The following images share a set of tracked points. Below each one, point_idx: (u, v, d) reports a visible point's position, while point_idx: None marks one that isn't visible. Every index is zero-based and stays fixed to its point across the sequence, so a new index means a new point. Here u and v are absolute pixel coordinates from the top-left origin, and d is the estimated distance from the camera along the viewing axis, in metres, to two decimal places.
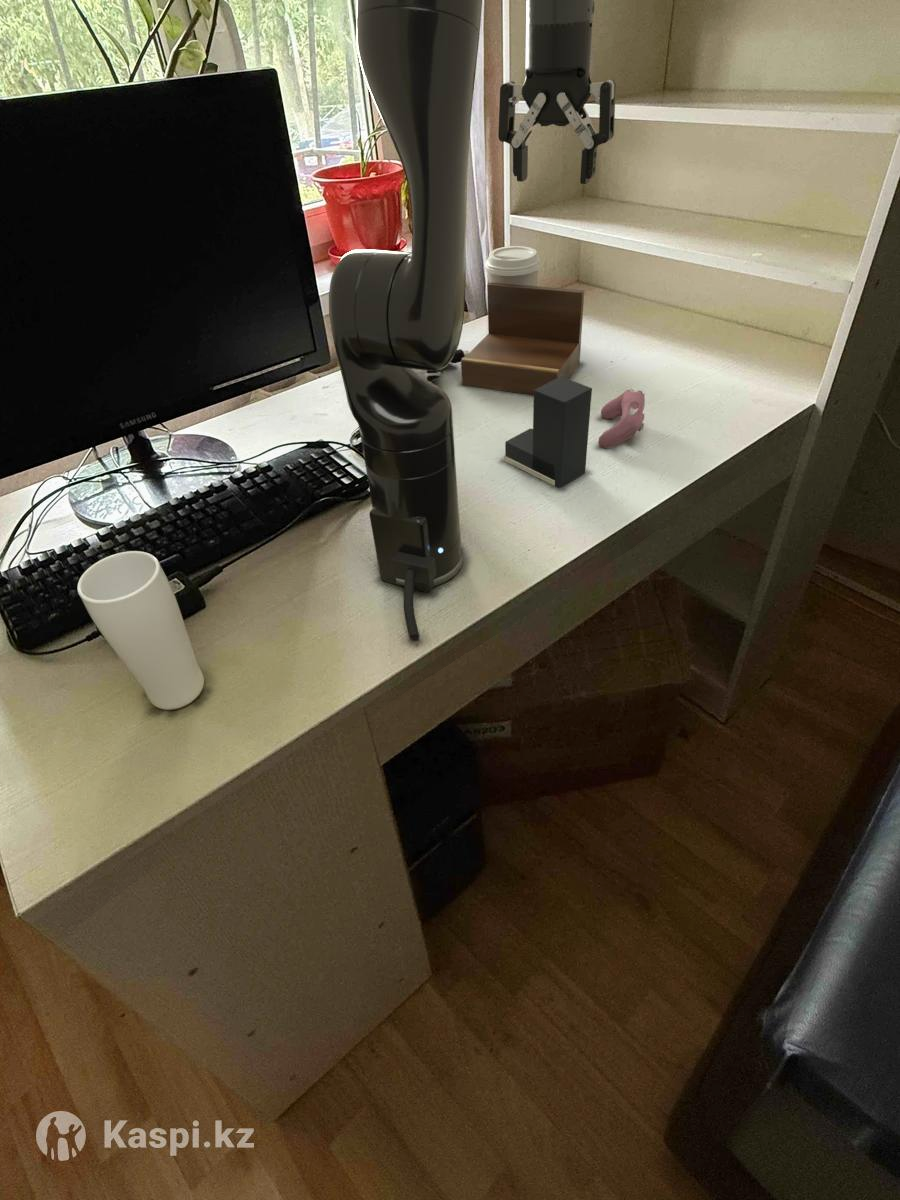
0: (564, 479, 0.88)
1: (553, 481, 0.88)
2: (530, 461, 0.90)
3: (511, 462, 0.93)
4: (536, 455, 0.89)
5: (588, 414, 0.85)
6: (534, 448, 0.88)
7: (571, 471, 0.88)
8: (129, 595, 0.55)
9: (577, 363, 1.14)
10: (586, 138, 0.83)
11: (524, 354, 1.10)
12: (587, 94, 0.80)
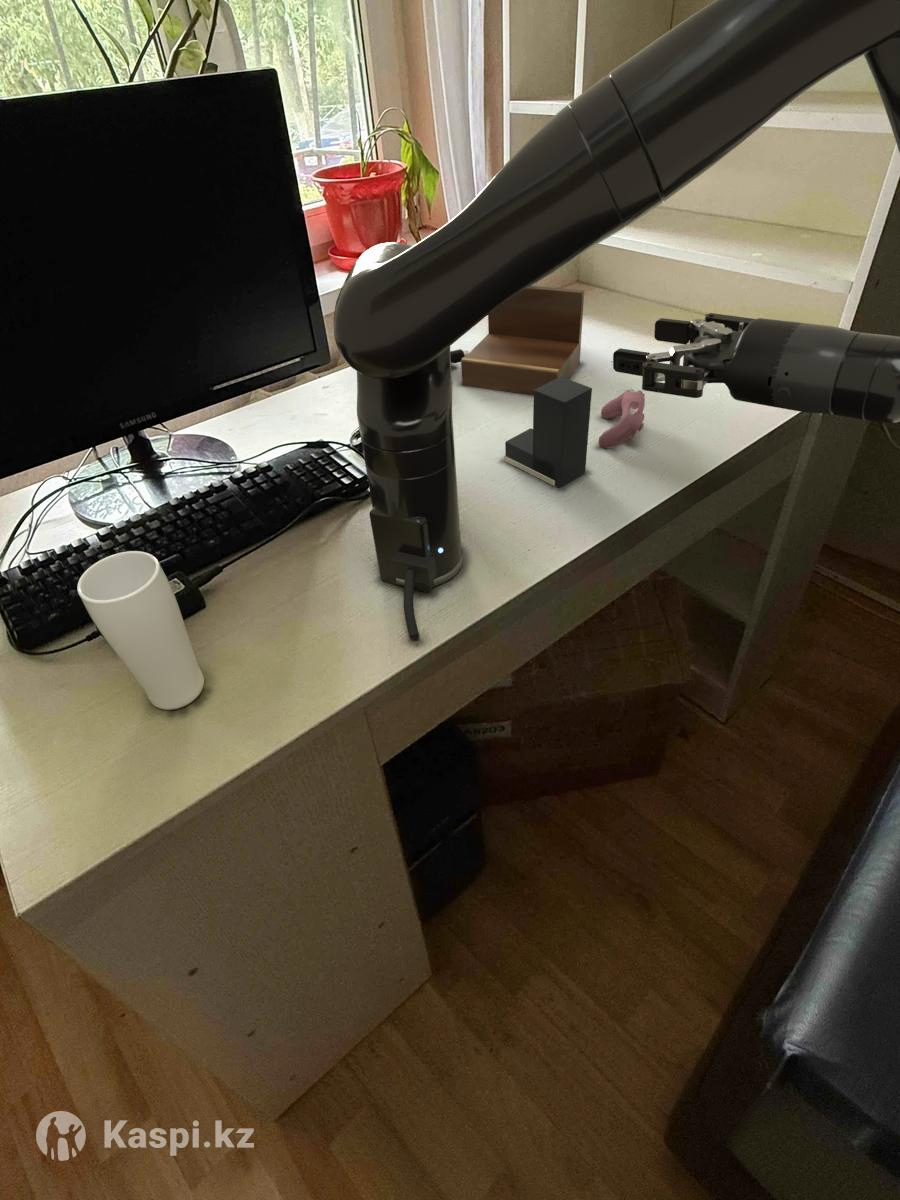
0: (564, 479, 0.88)
1: (553, 481, 0.88)
2: (530, 461, 0.90)
3: (511, 462, 0.93)
4: (536, 455, 0.89)
5: (588, 414, 0.85)
6: (534, 448, 0.88)
7: (571, 471, 0.88)
8: (129, 595, 0.55)
9: (577, 363, 1.14)
10: (659, 355, 0.67)
11: (524, 354, 1.10)
12: (702, 364, 0.65)
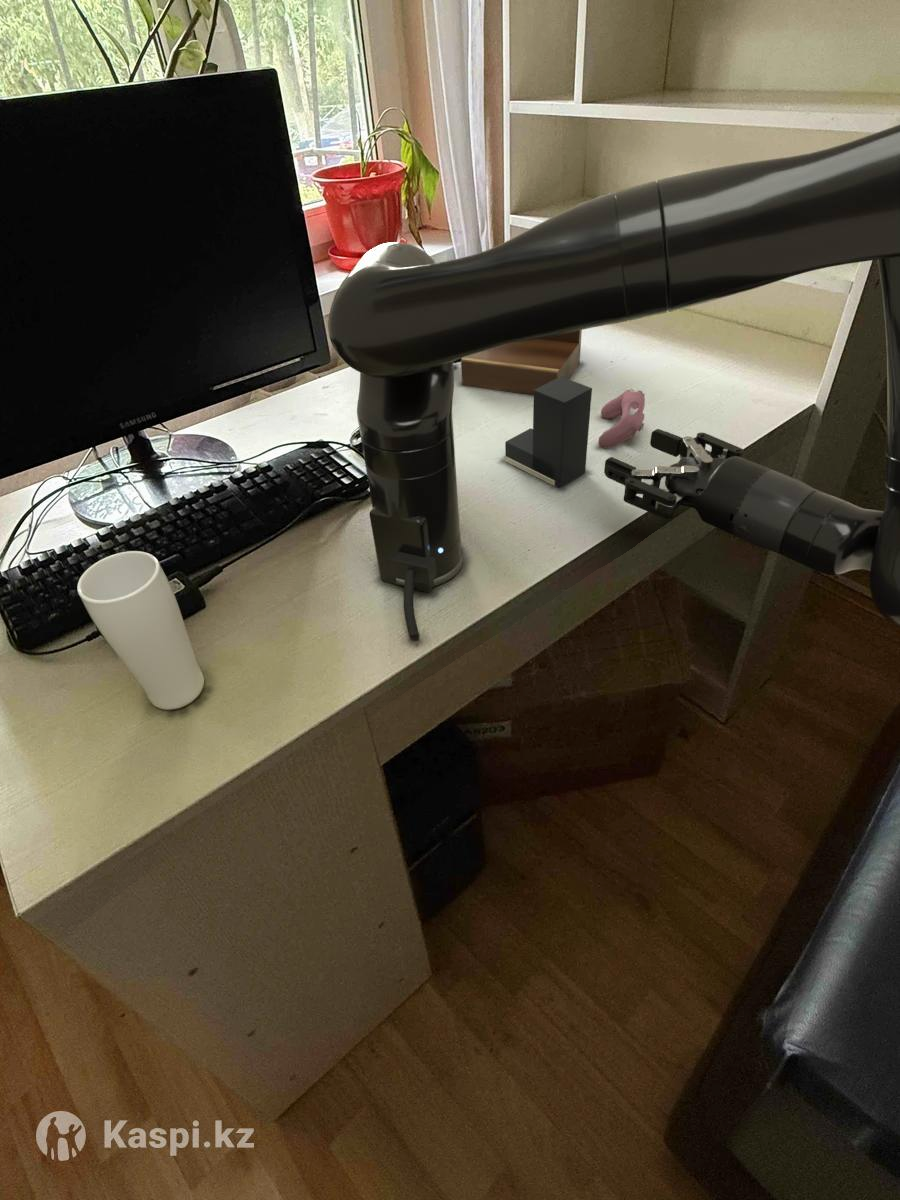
0: (564, 479, 0.88)
1: (553, 481, 0.88)
2: (530, 461, 0.90)
3: (511, 462, 0.93)
4: (536, 455, 0.89)
5: (588, 414, 0.85)
6: (534, 448, 0.88)
7: (571, 471, 0.88)
8: (129, 595, 0.55)
9: (577, 363, 1.14)
10: (643, 472, 0.74)
11: (524, 354, 1.10)
12: (677, 489, 0.72)
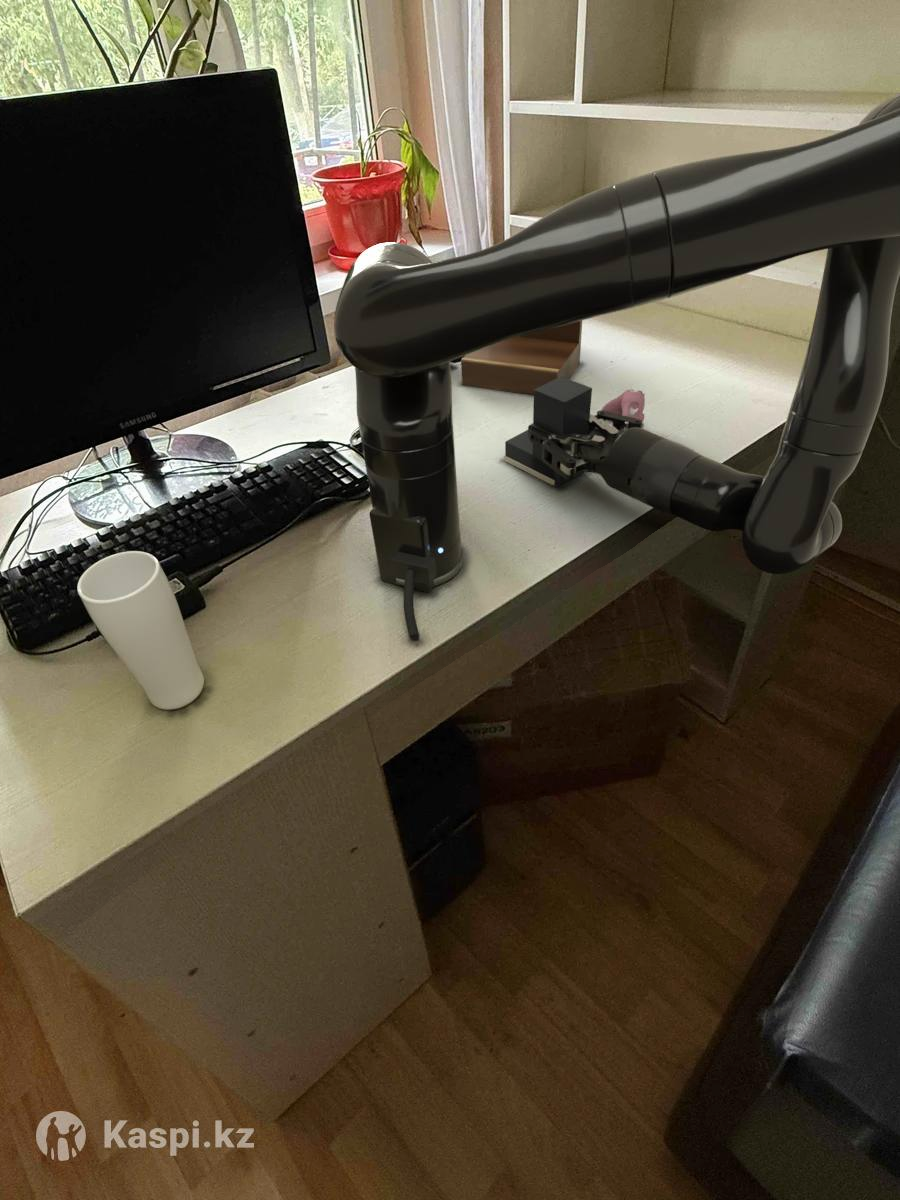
0: (564, 479, 0.88)
1: (553, 481, 0.88)
2: (530, 461, 0.90)
3: (511, 462, 0.93)
4: (536, 455, 0.89)
5: (588, 414, 0.85)
6: (534, 448, 0.88)
7: None
8: (129, 595, 0.55)
9: (577, 363, 1.14)
10: (558, 436, 0.83)
11: (524, 354, 1.10)
12: (584, 457, 0.80)
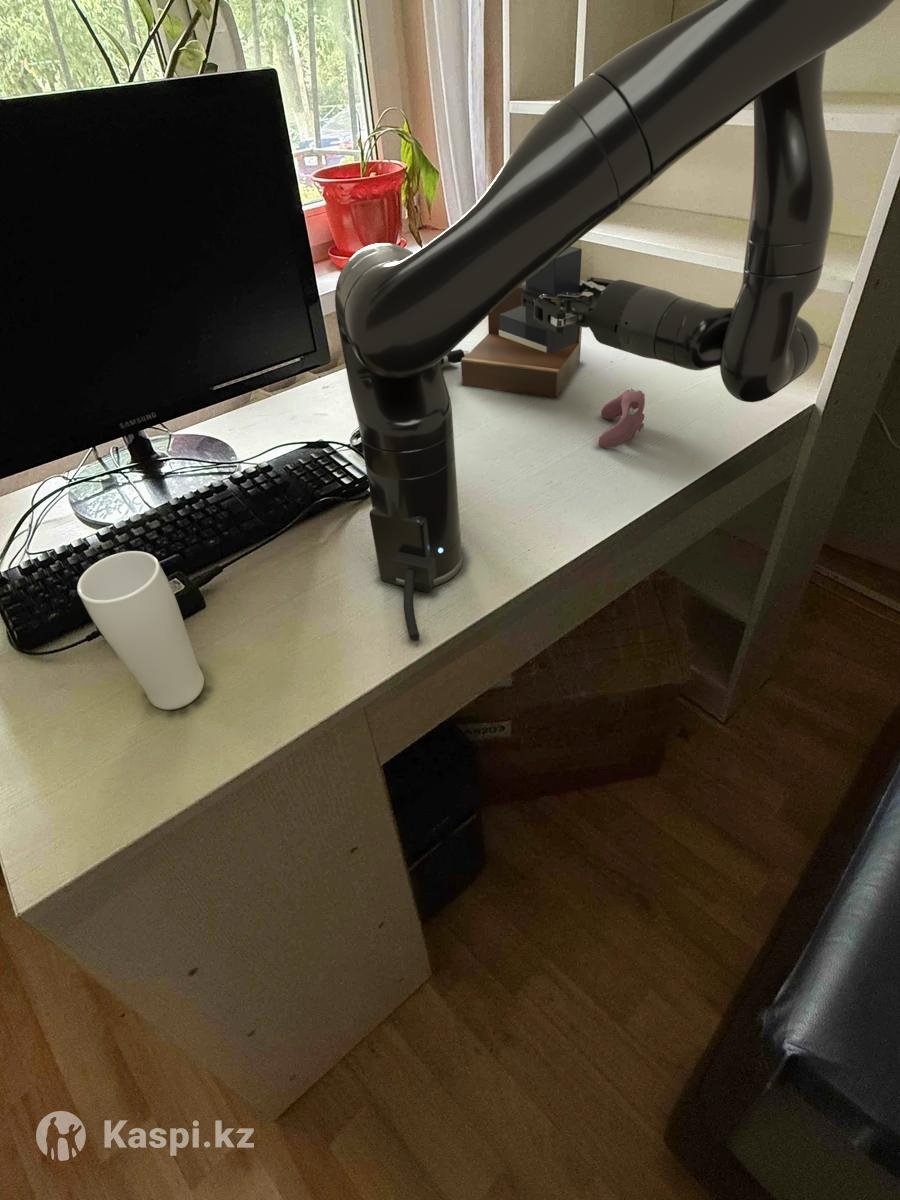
0: (555, 345, 0.92)
1: (545, 347, 0.92)
2: (523, 330, 0.94)
3: (505, 335, 0.97)
4: (529, 322, 0.92)
5: (578, 277, 0.88)
6: (527, 315, 0.92)
7: (562, 337, 0.92)
8: (129, 595, 0.55)
9: (577, 363, 1.14)
10: (549, 295, 0.87)
11: (524, 354, 1.10)
12: (574, 310, 0.83)
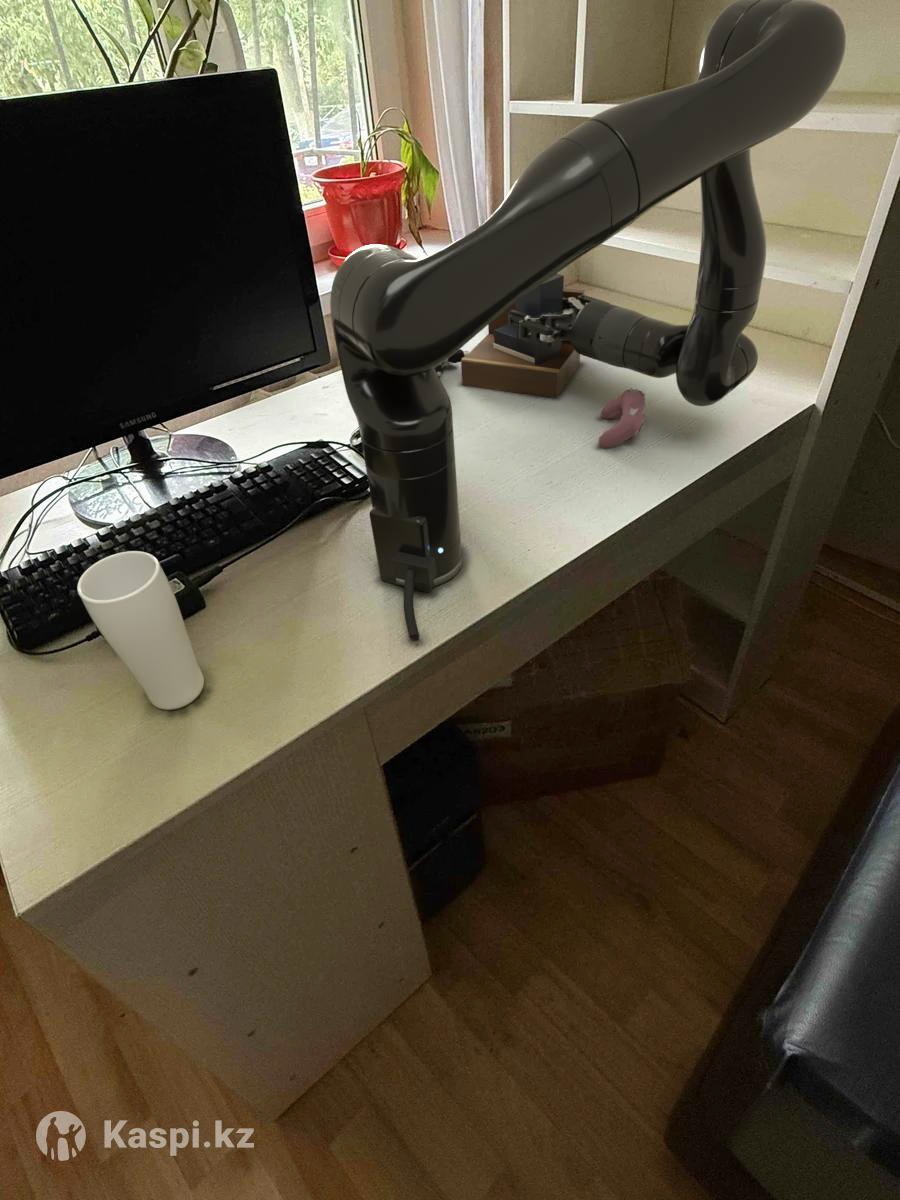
0: (542, 356, 1.06)
1: (533, 358, 1.07)
2: (514, 344, 1.09)
3: (499, 348, 1.11)
4: None
5: (561, 299, 1.03)
6: (517, 331, 1.07)
7: (548, 350, 1.07)
8: (129, 595, 0.55)
9: (577, 363, 1.14)
10: (533, 316, 1.00)
11: None
12: (556, 326, 0.98)
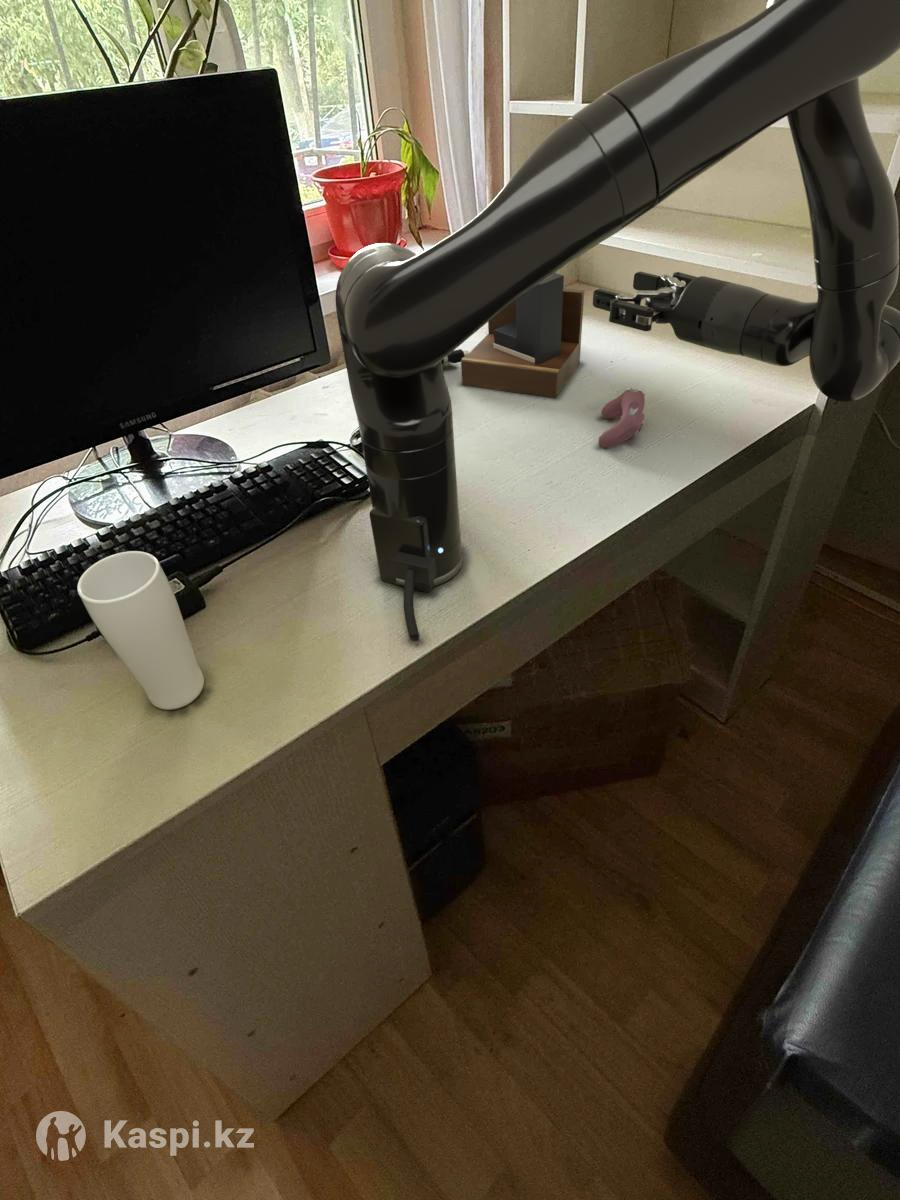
0: (542, 356, 1.06)
1: (533, 358, 1.07)
2: (514, 344, 1.09)
3: (499, 348, 1.11)
4: (519, 337, 1.07)
5: (561, 299, 1.03)
6: (517, 331, 1.07)
7: (548, 350, 1.07)
8: (129, 595, 0.55)
9: (577, 363, 1.14)
10: (625, 296, 0.86)
11: None
12: (655, 306, 0.84)
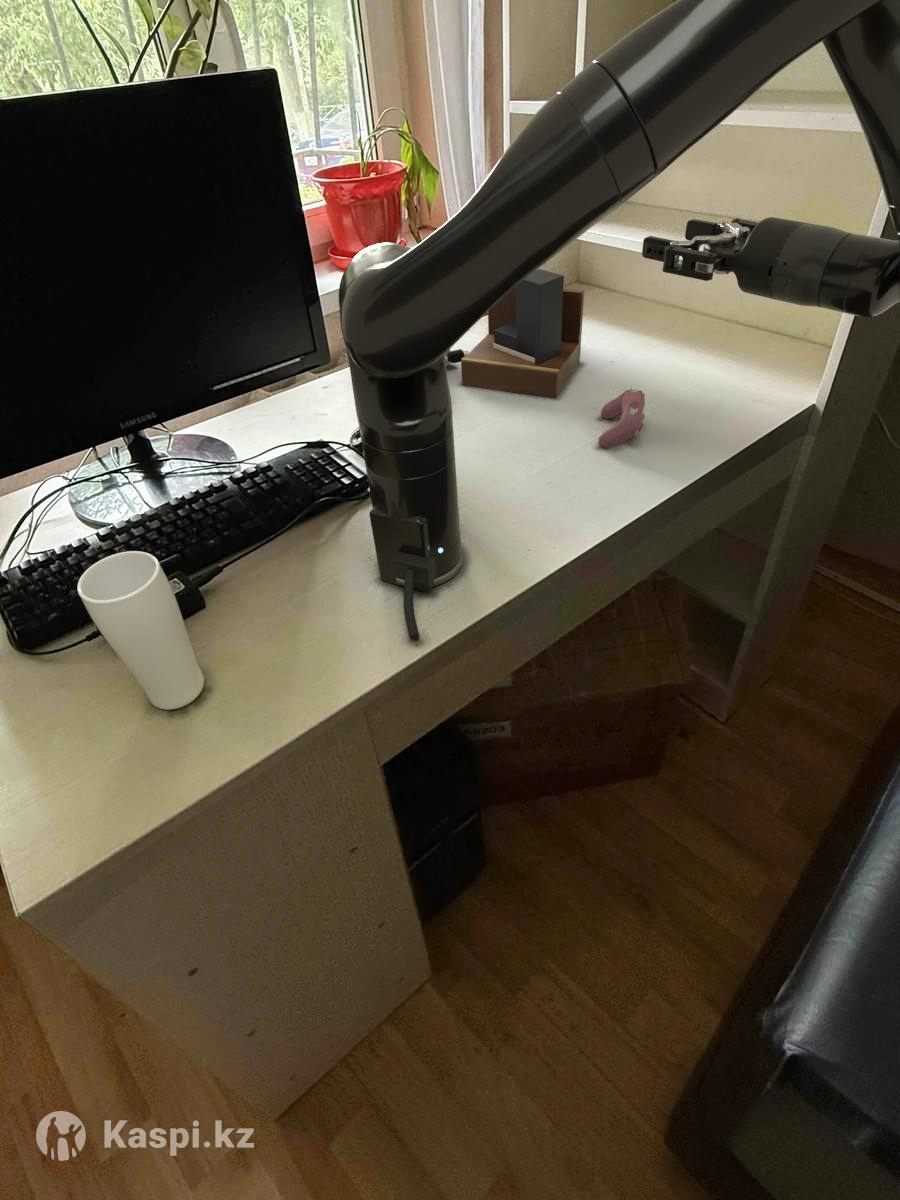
0: (542, 356, 1.06)
1: (533, 358, 1.07)
2: (514, 344, 1.09)
3: (499, 348, 1.11)
4: (519, 337, 1.07)
5: (561, 299, 1.03)
6: (517, 331, 1.07)
7: (548, 350, 1.07)
8: (129, 595, 0.55)
9: (577, 363, 1.14)
10: (681, 242, 0.76)
11: None
12: (716, 252, 0.74)
